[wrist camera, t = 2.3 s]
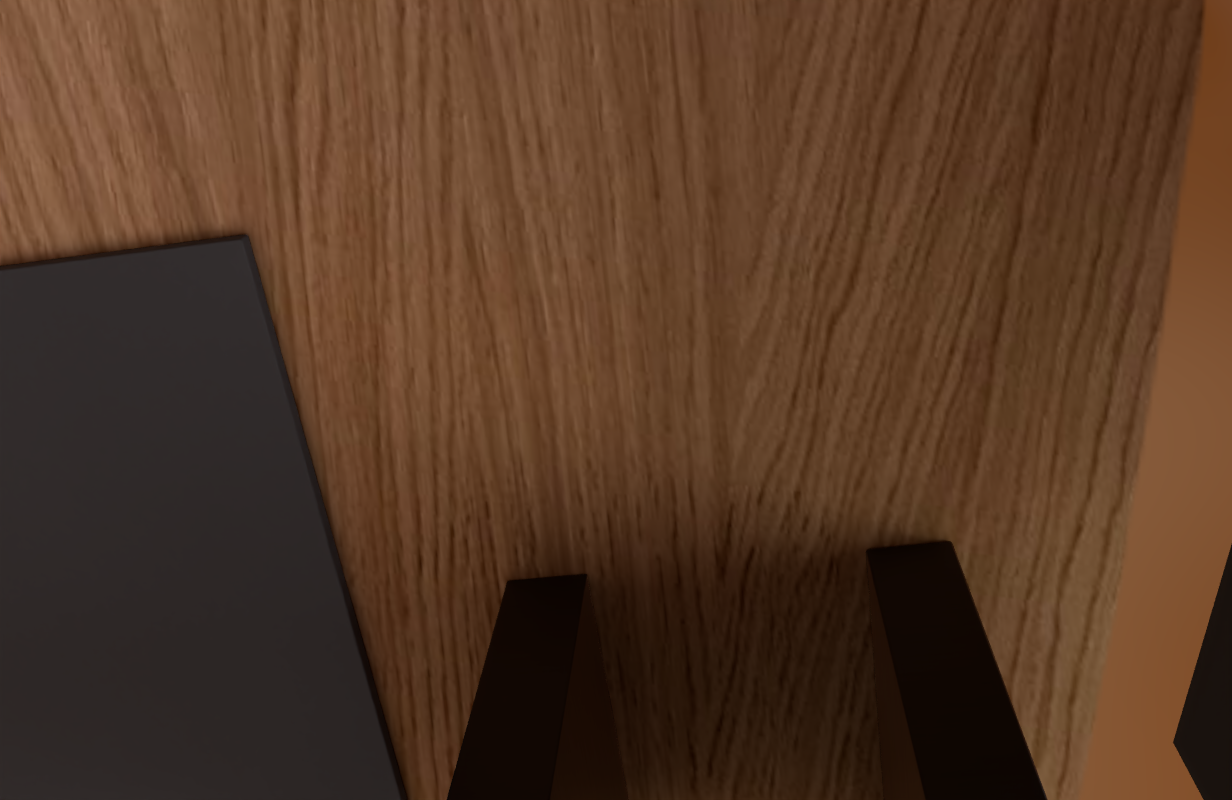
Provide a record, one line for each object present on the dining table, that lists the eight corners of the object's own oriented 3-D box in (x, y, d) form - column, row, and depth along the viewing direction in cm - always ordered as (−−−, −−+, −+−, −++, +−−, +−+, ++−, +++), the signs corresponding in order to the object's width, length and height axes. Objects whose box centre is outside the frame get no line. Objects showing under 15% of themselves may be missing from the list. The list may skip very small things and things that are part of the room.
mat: (248, 233, 38) (241, 238, 38) (418, 837, 48) (415, 848, 48) (-248, 297, 40) (-261, 303, 40) (16, 862, 51) (9, 873, 50)
